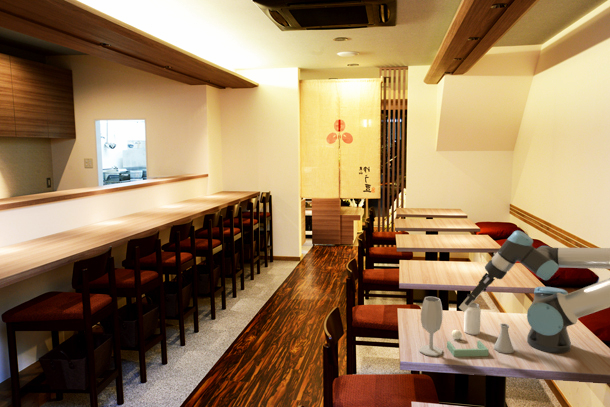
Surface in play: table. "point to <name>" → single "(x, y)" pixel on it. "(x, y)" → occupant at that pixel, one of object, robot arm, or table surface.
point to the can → (472, 319)
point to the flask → (504, 340)
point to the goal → (468, 350)
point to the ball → (456, 334)
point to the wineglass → (431, 323)
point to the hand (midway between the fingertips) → (466, 304)
